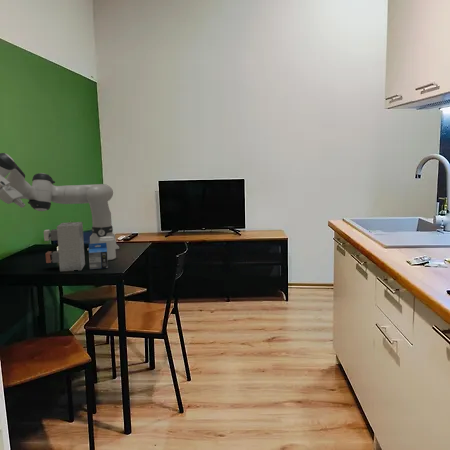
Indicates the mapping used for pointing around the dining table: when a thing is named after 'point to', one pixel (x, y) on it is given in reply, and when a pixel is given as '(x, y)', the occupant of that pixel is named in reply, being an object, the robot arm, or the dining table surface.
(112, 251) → the beverage can
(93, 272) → the dining table surface
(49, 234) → the white key
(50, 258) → the brown block
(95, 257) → the label tape box
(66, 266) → the box
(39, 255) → the dining table surface
